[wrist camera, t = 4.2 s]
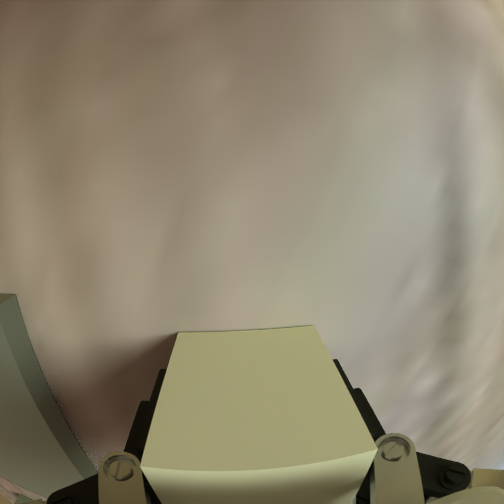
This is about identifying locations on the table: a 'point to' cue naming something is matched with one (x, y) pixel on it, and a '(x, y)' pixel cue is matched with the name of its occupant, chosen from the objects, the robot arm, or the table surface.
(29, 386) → the baseplate
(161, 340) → the table surface
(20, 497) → the cup coaster rim
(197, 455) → the cream block
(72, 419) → the table surface
